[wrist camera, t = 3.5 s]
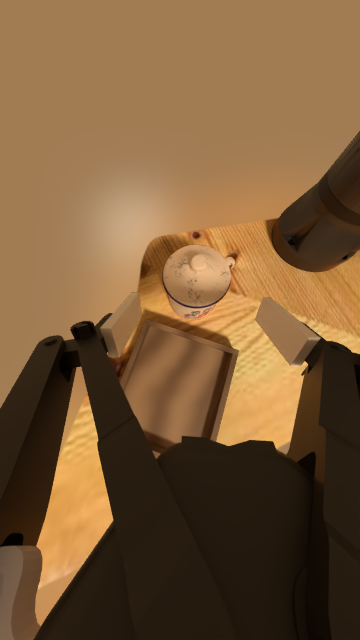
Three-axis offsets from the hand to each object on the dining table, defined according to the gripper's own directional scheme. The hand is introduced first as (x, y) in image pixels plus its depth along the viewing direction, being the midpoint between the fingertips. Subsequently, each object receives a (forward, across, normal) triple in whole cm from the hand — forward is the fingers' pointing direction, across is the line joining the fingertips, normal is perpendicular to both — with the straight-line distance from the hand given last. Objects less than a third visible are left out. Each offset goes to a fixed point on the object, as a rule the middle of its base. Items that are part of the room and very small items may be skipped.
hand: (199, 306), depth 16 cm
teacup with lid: (+12, +1, -4) cm, 13 cm away
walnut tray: (0, -3, -15) cm, 15 cm away
